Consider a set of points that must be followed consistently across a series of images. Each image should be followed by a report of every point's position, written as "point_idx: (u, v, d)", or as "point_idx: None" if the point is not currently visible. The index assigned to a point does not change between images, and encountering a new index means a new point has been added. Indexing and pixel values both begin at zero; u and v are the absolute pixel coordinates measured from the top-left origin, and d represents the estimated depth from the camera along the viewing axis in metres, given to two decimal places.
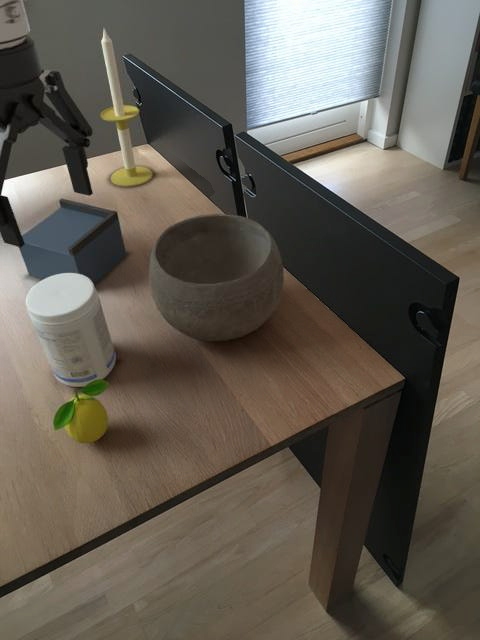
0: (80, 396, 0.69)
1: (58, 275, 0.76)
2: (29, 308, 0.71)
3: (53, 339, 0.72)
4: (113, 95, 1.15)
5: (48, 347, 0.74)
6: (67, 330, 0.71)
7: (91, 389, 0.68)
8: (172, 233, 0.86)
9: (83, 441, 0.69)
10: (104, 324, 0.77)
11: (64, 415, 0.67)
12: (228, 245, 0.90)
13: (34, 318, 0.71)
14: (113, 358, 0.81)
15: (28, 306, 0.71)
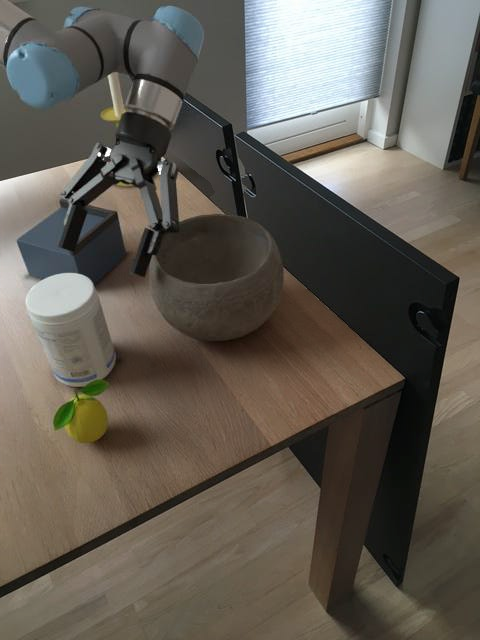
0: (80, 396, 0.69)
1: (58, 275, 0.76)
2: (29, 308, 0.71)
3: (53, 339, 0.72)
4: (113, 95, 1.15)
5: (48, 347, 0.74)
6: (67, 330, 0.71)
7: (91, 389, 0.68)
8: (172, 233, 0.86)
9: (83, 441, 0.69)
10: (104, 324, 0.77)
11: (64, 415, 0.67)
12: (228, 245, 0.90)
13: (34, 318, 0.71)
14: (113, 358, 0.81)
15: (28, 306, 0.71)
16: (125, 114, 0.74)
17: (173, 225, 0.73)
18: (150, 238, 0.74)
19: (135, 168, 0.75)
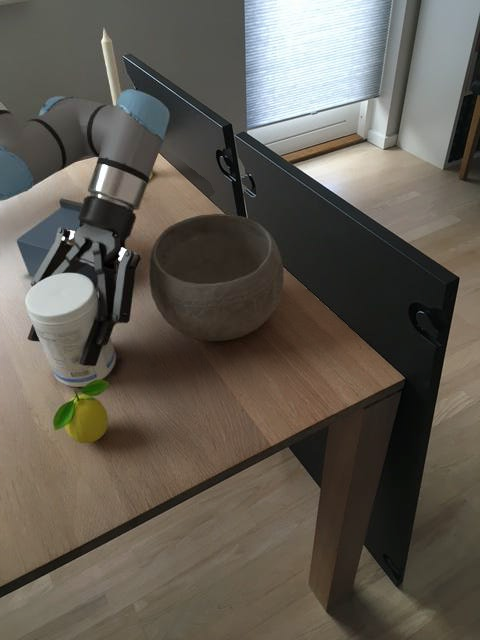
0: (80, 396, 0.69)
1: (58, 275, 0.76)
2: (29, 308, 0.71)
3: (53, 339, 0.72)
4: (113, 95, 1.15)
5: (47, 347, 0.74)
6: (67, 330, 0.71)
7: (91, 389, 0.68)
8: (172, 233, 0.86)
9: (83, 441, 0.69)
10: None
11: (64, 415, 0.67)
12: (228, 245, 0.90)
13: (34, 318, 0.71)
14: (113, 358, 0.81)
15: (28, 306, 0.71)
16: (87, 199, 0.73)
17: (122, 318, 0.73)
18: (100, 329, 0.74)
19: (98, 253, 0.74)
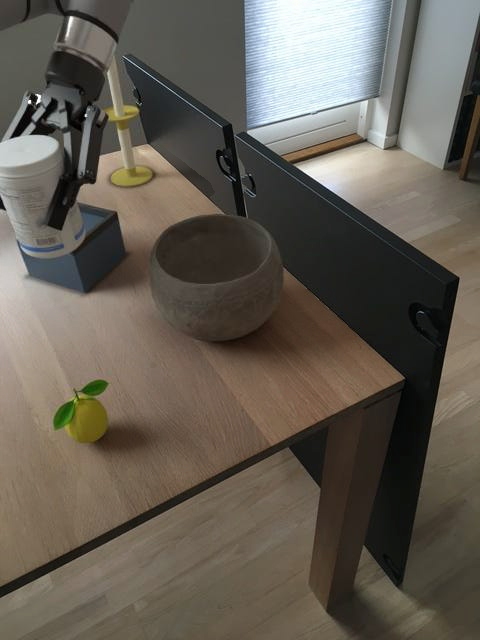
0: (80, 396, 0.69)
1: (23, 136, 0.73)
2: None
3: (16, 196, 0.70)
4: (113, 95, 1.15)
5: (11, 208, 0.72)
6: (30, 184, 0.69)
7: (91, 389, 0.68)
8: (172, 233, 0.86)
9: (83, 441, 0.69)
10: None
11: (64, 415, 0.67)
12: (228, 245, 0.90)
13: None
14: (82, 232, 0.79)
15: None
16: (53, 53, 0.71)
17: (88, 176, 0.70)
18: (65, 189, 0.71)
19: (64, 110, 0.71)
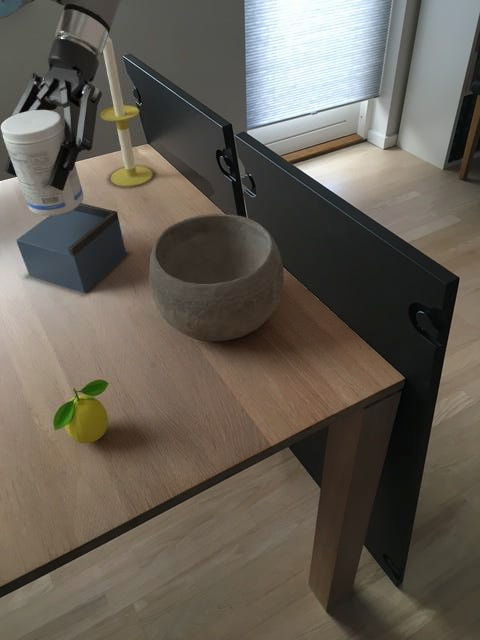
0: (80, 396, 0.69)
1: (30, 111, 0.87)
2: (3, 130, 0.82)
3: (25, 159, 0.83)
4: (113, 95, 1.15)
5: (21, 171, 0.85)
6: (36, 149, 0.82)
7: (91, 389, 0.68)
8: (172, 233, 0.86)
9: (83, 441, 0.69)
10: None
11: (64, 415, 0.67)
12: (228, 245, 0.90)
13: (8, 139, 0.82)
14: (80, 194, 0.92)
15: (2, 129, 0.82)
16: (55, 40, 0.84)
17: (85, 143, 0.84)
18: (66, 155, 0.85)
19: (64, 88, 0.85)
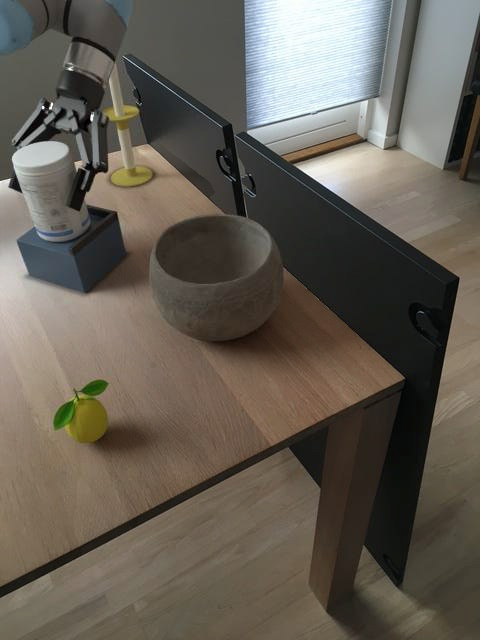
0: (80, 396, 0.69)
1: (40, 142, 0.90)
2: (15, 162, 0.85)
3: (35, 190, 0.87)
4: (113, 95, 1.15)
5: (31, 200, 0.89)
6: (46, 181, 0.86)
7: (91, 389, 0.68)
8: (172, 233, 0.86)
9: (83, 441, 0.69)
10: None
11: (64, 415, 0.67)
12: (228, 245, 0.90)
13: (19, 171, 0.86)
14: (87, 220, 0.96)
15: (14, 161, 0.86)
16: (62, 71, 0.88)
17: (102, 165, 0.86)
18: (83, 177, 0.87)
19: (71, 118, 0.88)
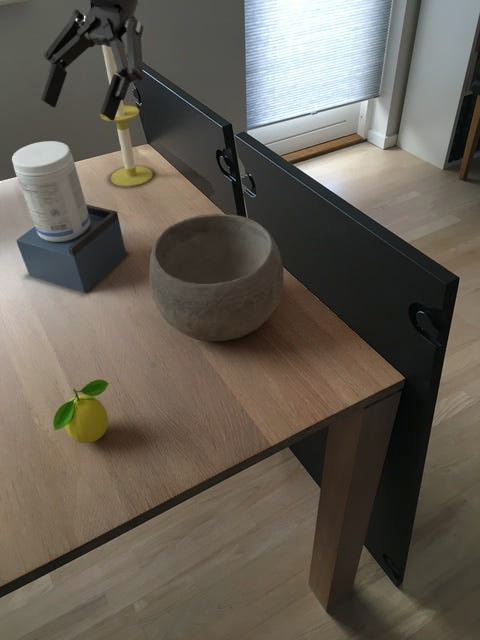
0: (80, 396, 0.69)
1: (40, 142, 0.90)
2: (15, 162, 0.85)
3: (35, 190, 0.87)
4: None
5: (31, 200, 0.89)
6: (46, 181, 0.86)
7: (91, 389, 0.68)
8: (172, 233, 0.86)
9: (83, 441, 0.69)
10: (79, 185, 0.91)
11: (64, 415, 0.67)
12: (228, 245, 0.90)
13: (19, 171, 0.86)
14: (87, 220, 0.96)
15: (14, 161, 0.86)
16: None
17: (137, 71, 0.86)
18: (118, 84, 0.87)
19: (106, 26, 0.88)
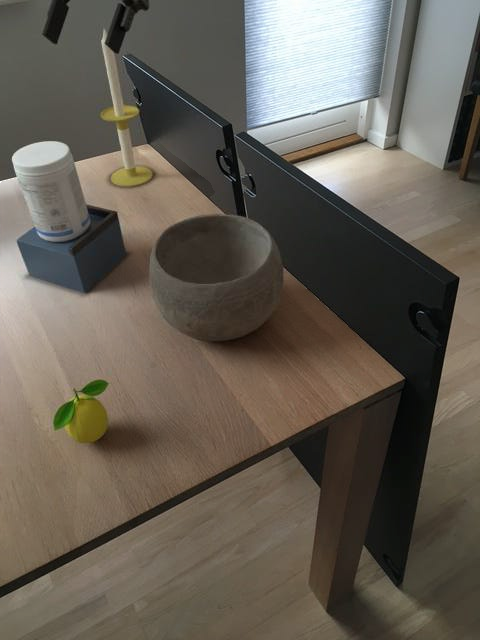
0: (80, 396, 0.69)
1: (40, 142, 0.90)
2: (15, 162, 0.85)
3: (35, 190, 0.87)
4: (113, 95, 1.15)
5: (31, 200, 0.89)
6: (46, 181, 0.86)
7: (91, 389, 0.68)
8: (172, 233, 0.86)
9: (83, 441, 0.69)
10: (79, 185, 0.91)
11: (64, 415, 0.67)
12: (228, 245, 0.90)
13: (19, 171, 0.86)
14: (87, 220, 0.96)
15: (14, 161, 0.86)
16: None
17: None
18: (123, 13, 0.83)
19: None
